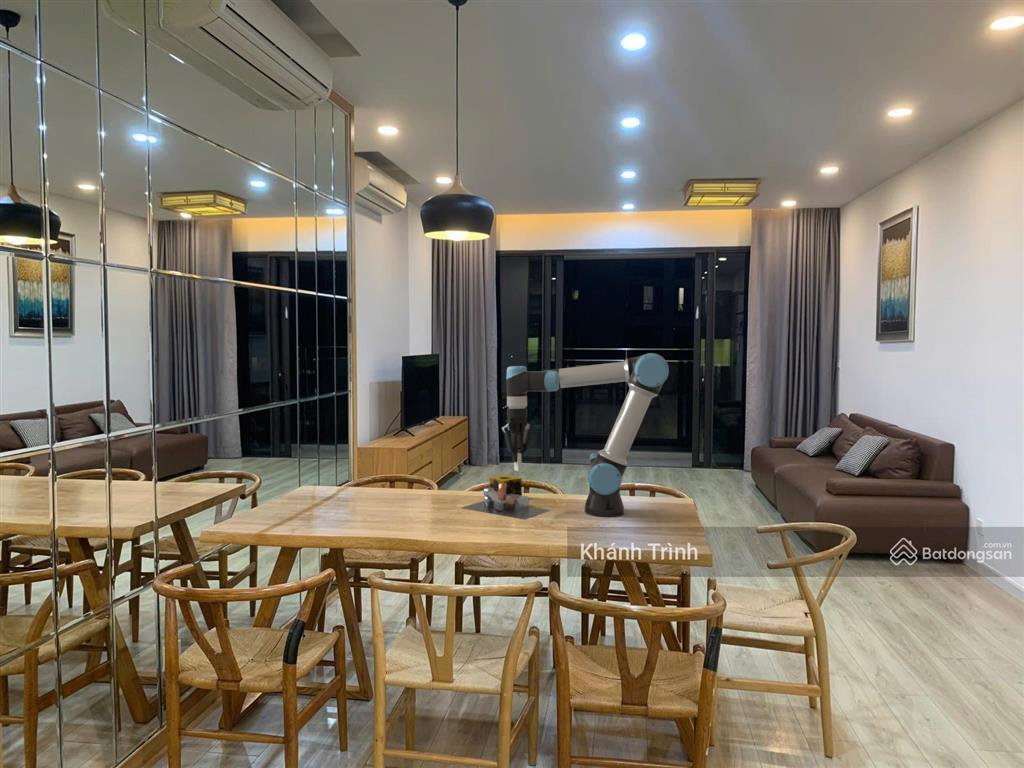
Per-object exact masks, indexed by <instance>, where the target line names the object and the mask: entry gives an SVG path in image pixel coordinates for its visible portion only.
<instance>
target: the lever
mask: <svg viewBox="0 0 1024 768" xmlns="http://www.w3.org/2000/svg"><path fill="white" fill-rule="evenodd" d="M483 496H484V497H485V496H489V497H491V498H492V499H493V501H494V508H495V509H497V510H503V503H506V483H499V491H498V492H496V491H494V488H490V487H484V488H483Z"/></svg>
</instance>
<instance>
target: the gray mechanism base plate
mask: <svg viewBox="0 0 1024 768" xmlns="http://www.w3.org/2000/svg"><path fill="white" fill-rule="evenodd" d="M508 496H514V497H517V498H516V499H515V509H507V508H506V503H503V510H497V509H495V508H494V499H492V498H491V497H489V496H485V495H484V500H483V501H479V502H477V503H476V502H475V503H472V504H470V505H466V506H462V507H461V509H463V510H469V511H474V512H475V511H476V512H480V513H484V514H491V515H496V516H501V517H507V518H512V519H517V520H518V519H520V520H524V521H525V520H528V519H531V518H533V517H537V516H540V515H541V514H544V513H547V512H550V511H551V509H546V508H539V507H533V506H529V505H530V496H527V495H523V494H522V495H516V494H507V495H506V497H508Z"/></svg>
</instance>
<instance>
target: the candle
mask: <svg viewBox="0 0 1024 768" xmlns="http://www.w3.org/2000/svg"><path fill="white" fill-rule="evenodd" d="M522 481H523V478H522V477H518V476H516V475H511V474H503V475H495V476H490V477H489V488H494V491H496V492H498V491H499V483H506V495H507V494H516V495H522V496H523V491H522V490H523V489H522V487H523V485H522Z"/></svg>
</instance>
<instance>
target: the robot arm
mask: <svg viewBox="0 0 1024 768" xmlns="http://www.w3.org/2000/svg"><path fill="white" fill-rule="evenodd" d="M527 368H528V367H526V365H513V366H508V367H507V368H506V378H505V379H506V380H505V381H506V382H505V383H506V407H507V409H506V417H507V421H506V425H504V426H502V427H501V428H500V429H501V431H502V433H503V435H504V436H503V437H504V440H505V444H506V450H507V452H509V453H512V462H513V463H514V464H513V468H514V469H513V470H514V471H516V472H521V471H522V470H523V469H522V462H523V461H524V454H525V453H526V452H527V451H528V449H529V443H530V440H531V439H530V438H531V432H532V430H533V429H534V426H533V425H532V424H529V423H528V420H527V418H528V408H527V407H528V394H527V393H528V392H548V393H551V392H557V391H559V390H560V389H565V388H566V389H567V388H574V387H584V386H592V385H603V384H611V383H612V384H614V383H615V384H616V383H622V382H626V383H627V386H628V387H629V390H628V392H627V394H626V397H625V398H624V402H623V404H622V406H621V408H620V410H619V413H618V415H617V417H616V420H615V423H614V425H613V427H612V429H611V431H610V434H609V436H608V438H607V441H606V443H605V445H604V448H603V449H601V450H599V451H598V452H594V453H591V454H590V455H589V471H588V474H587V480H588V483H589V490H588V491H589V492H588V496H587V498H586V502H585V504H584V513H586V514H587V515H591V516H596V517H608V518H609V517H610V518H611V517H612V518H613V517H619V516H622V515H624V514H625V506H624V503H623V499H622V497H621V491H620V490H621V489H620V488H621V485H622V481H623V480H622V479H623V476H624V474H625V472H626V470H627V467H628V462H627V456H628V454H629V452H630V449H631V448H632V445H633V443H634V440H635V438H636V436H637V433H638V431H639V429H640V427H641V424H642V422H643V419H644V417H645V415H646V412H647V410H648V409H649V407H650V403H651V401H652V399H653V398H655V397H658V396H659V393H660V391H661V389H662V387H663V385H664V383H665V382H666V380H668V376H669V373H670V372H669V371H670V370H669V364H668V361H666V359H665V358H664V357H663V356H662V355H660V354H657V353H655V352H654V353H653V352H648V353H646V354H645V353H644V354H642V355H639V356H636V357H628V358H625V360H624V361H619V362H609V363H601V364H600V363H599V364H591V365H581V366H573V367H572V366H571V367H564V368H555V369H545V370H537V371H536V370H535V371H532V370H530V371H529V370H527Z"/></svg>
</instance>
